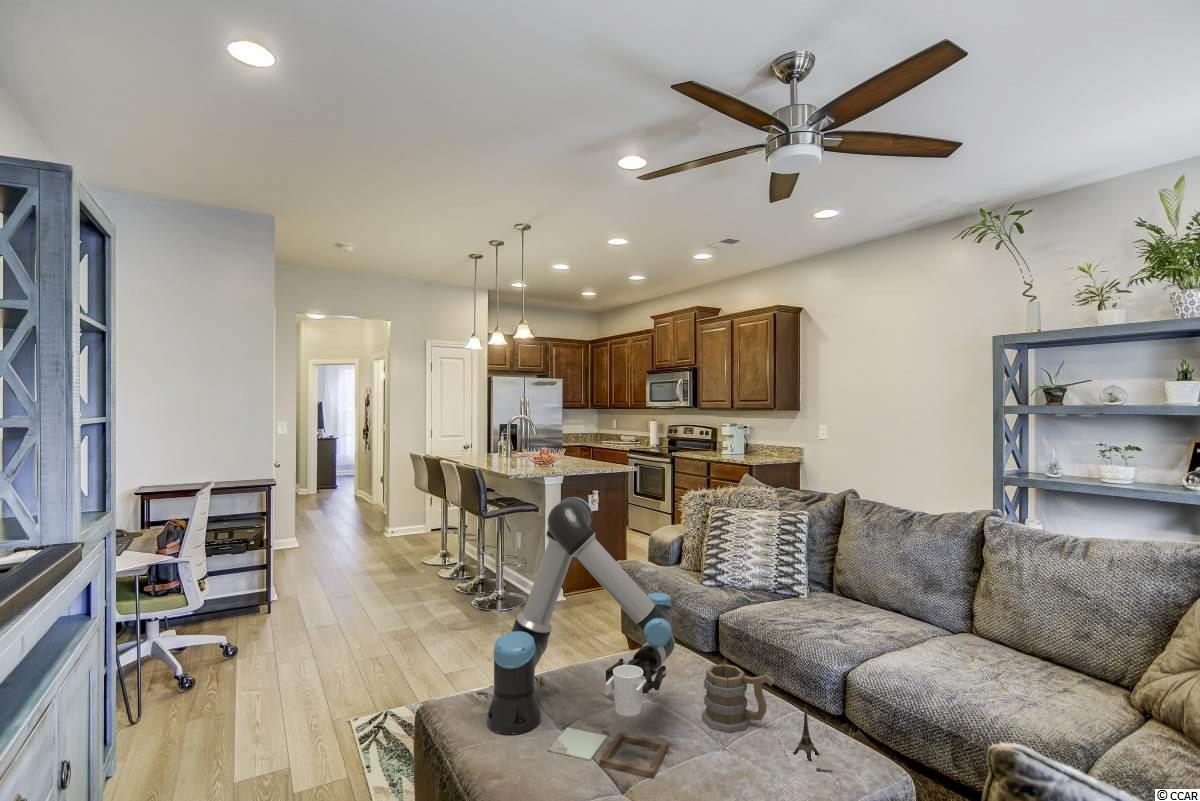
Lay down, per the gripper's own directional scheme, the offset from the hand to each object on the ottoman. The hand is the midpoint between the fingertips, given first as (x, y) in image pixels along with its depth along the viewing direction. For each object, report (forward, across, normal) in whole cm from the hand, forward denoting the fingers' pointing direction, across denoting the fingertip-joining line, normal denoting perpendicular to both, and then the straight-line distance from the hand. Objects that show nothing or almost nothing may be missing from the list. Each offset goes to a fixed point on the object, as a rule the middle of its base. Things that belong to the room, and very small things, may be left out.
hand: (621, 692), depth 146 cm
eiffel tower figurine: (-23, -42, -18) cm, 51 cm away
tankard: (-32, -24, -18) cm, 44 cm away
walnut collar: (-5, -2, -18) cm, 19 cm away
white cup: (-5, 0, -7) cm, 8 cm away
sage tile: (-5, +14, -18) cm, 23 cm away
